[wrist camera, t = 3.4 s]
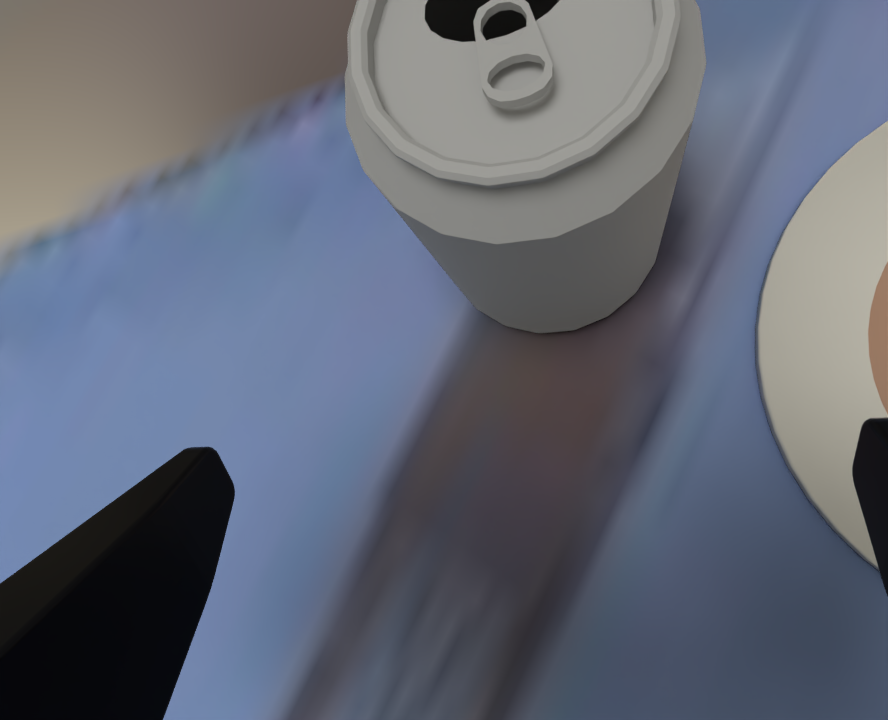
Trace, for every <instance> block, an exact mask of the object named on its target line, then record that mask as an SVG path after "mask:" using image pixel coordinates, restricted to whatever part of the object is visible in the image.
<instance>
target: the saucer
mask: <svg viewBox="0 0 888 720" xmlns="http://www.w3.org/2000/svg"><path fill="white" fill-rule="evenodd" d="M755 364H756V370H757V376H758V383H759V389H760V395H761V400H762V403H763V406H764V410H765V413H766V416H767V419H768V423H769V426H770V429H771V432H772V435H773V437H774V439H775V441H776V443H777V445H778V448H779V450H780V452H781V454H782V456H783V458H784V461H785V463H786V465H787V467H788V468H789V470H790V472H791V473H792V475H793V476H794V478H795V480H796V481H797V483H798V484H799V486H800V488H801V489H802V491H803V492H804V494H805V496H806V497H807V499H808V500H809V501H810V502H811V504H812V505H813V506H814V507H815V508H816V510H817V511H818V512H819V513H820V515H821V516H822V517H823V518H824V519H825V521H826V522H827V523H828V524H829V526H830V527H831V528H832V529H833V530H834V531H835V532H836V533H837V534H838V535H839V536H840V537H841V538H842V539H843V540H844V541H845V542H846V543H847V544H848V545H849V546H850V547H851V548H852V549H853V550H854V551H855V552H857V553H858V554H859V555H860V556H861V557H862V558H863V559H864V560H865V561H867V562H868V563H869V564H871V565H872V566H873V567H875V568H876V569H877V570H879V568H878V564H877V561H876V558H875V554H874V551H873V547H872V544H871V541H870V537H869V534H868V530H867V527H866V524H865V520H864V517H863V513H862V510H861V507H860V503H859V500H858V496H857V493H856V490H855V486H854V482H853V476H852V466H853V461H854V457H855V452H856V448H857V443H858V439H859V435H860V430H861V427H862V424H863V423H864V421H866V420H867V419H870V418H884V417H888V121H887V122H885V123H884V124H883V125H881V126H880V127H879V128H877V129H876V130H874V131H873V132H872V133H870V134H869V135H867V136H866V137H865V138H863V139H862V140H860V141H859V142H858V143H856V144H855V145H854V146H853V147H852V148H851V149H850V150H849V151H848V152H847V153H846V154H844V155H843V156H842V157H841V158H840V159H839V160H838V161H837V162H836V163H835V164H834V165H833V166H832V167H830V168H829V170H828V171H827V172H826V173H825V174H824V176H823V177H822V178H821V179H820V180H819V182H818V183H817V184H816V185H815V186H814V188H813V189H812V190H811V191H810V193H809V194H808V195H807V196H806V197H805V199H804V200H803V201H802V203H801V204H800V205H799V207H798V209H797V210H796V212H795V213H794V215H793V217H792V218H791V220H790V221H789V223H788V225H787V226H786V228H785V229H784V231H783V233H782V234H781V237H780V239H779V241H778V243H777V246H776V248H775V250H774V252H773V255H772V257H771V259H770V262H769V264H768V267H767V270H766V274H765V278H764V281H763V285H762V288H761V292H760V296H759V302H758V310H757V318H756V325H755Z"/></svg>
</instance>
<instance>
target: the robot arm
mask: <svg viewBox="0 0 888 720" xmlns="http://www.w3.org/2000/svg"><path fill="white" fill-rule="evenodd" d="M852 476H853V482H854V486H855V490H856V493H857V496H858V500H859V503H860V507H861V510H862V513H863V517H864V520H865V524H866V527H867V530H868V534H869V537H870V541H871V544H872V547H873V551H874V554H875V558H876V561H877V564H878V568H879V571H880V575H881V578H882V581H883V584H884V587H885V590H886V593H887V596H888V417H884V418H870V419H867V420H866V421H864V423H863V424H862V427H861V430H860V435H859V439H858V443H857V448H856V452H855V457H854V461H853V466H852ZM234 496H235V490H234V485H233V482H232V480H231V478H230V476H229V474H228V472H227V470H226V468H225V466H224V464H223V462H222V460H221V458H220V456H219V455H218V453H217V451H216V450H214V449H213V448H211V447H191V448H187V449H184V450H183V451H181V452H180V453H179V454H177V455H176V456H174V457H173V458H172V459H170V460H169V461H168V462H166V463H165V464H164V465H162V466H161V467H159V468H158V469H157V470H155V471H154V472H153V473H151V474H150V475H148V476H147V477H146V478H144V479H143V480H142V481H140V482H139V483H138V484H136V485H135V486H133V487H132V488H131V489H129V490H128V491H127V492H125V493H124V494H122V495H121V496H120V497H118V498H117V499H116V500H114V501H113V502H111V503H110V504H109V505H107V506H106V507H105V508H103V509H102V510H101V511H99V512H98V513H96V514H95V515H94V516H92V517H91V518H90V519H88V520H87V521H85V522H84V523H83V524H81V525H80V526H79V527H77V528H76V529H74V530H73V531H72V532H70V533H69V534H68V535H66V536H65V537H64V538H62V539H61V540H59V541H58V542H57V543H55V544H54V545H53V546H51V547H50V548H48V549H47V550H46V551H44V552H43V553H42V554H40V555H39V556H38V557H36V558H35V559H33V560H32V561H31V562H29V563H28V564H27V565H25V566H24V567H22V568H21V569H20V570H18V571H17V572H16V573H14V574H13V575H11V576H10V577H9V578H7V579H6V580H5V581H3V582H2V583H1V584H0V720H163V718H164V715H165V713H166V710H167V707H168V704H169V702H170V699H171V696H172V694H173V691H174V688H175V685H176V683H177V680H178V677H179V675H180V672H181V669H182V666H183V664H184V661H185V658H186V656H187V653H188V650H189V647H190V645H191V642H192V639H193V637H194V634H195V631H196V629H197V626H198V623H199V620H200V618H201V615H202V612H203V610H204V607H205V604H206V601H207V598H208V595H209V592H210V589H211V586H212V583H213V579H214V576H215V572H216V568H217V564H218V561H219V557H220V553H221V549H222V545H223V541H224V537H225V533H226V529H227V525H228V521H229V517H230V514H231V510H232V506H233V502H234Z"/></svg>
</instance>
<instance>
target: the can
mask: <svg viewBox="0 0 888 720" xmlns="http://www.w3.org/2000/svg"><path fill="white" fill-rule="evenodd" d="M705 67H706V56H705V48H704V40H703V32H702V23H701V15H700V9H699V7H698V5H697V3H696V1H695V0H357V3H356V6H355V10H354V13H353V16H352V20H351V23H350V27H349V30H348V66H347V69H346V73H345V103H346V126H347V128H348V131H349V134H350V136H351V139H352V142H353V144H354V147H355V150H356V152H357V155H358V158H359V160H360V163H361V166H362V168H363V171H364V172H365V173H366V174H367V176H368V177H369V178H370V179H371V180H372V182H373V183H374V184H375V185H376V187H377V188H378V189H379V190H380V192H381V193H382V194H383V195H384V197H385V198H386V199H387V200H388V201H389V203H390V204H391V205H392V206H393V208H394V209H395V210H396V211H397V213H398V214H399V215H400V216H401V218H402V219H403V220H404V221H405V223H406V224H407V225H408V226H409V227H410V229H411V230H412V231H413V232H414V234H415V235H416V236H417V237H418V239H419V240H420V241H421V242H422V244H423V245H424V246H425V247H426V248H427V250H428V251H429V252H430V253H431V255H432V256H433V257H434V258H435V260H436V261H437V262H438V263H439V265H440V266H441V267H442V268H443V270H444V271H445V272H446V273H447V274H448V276H449V277H450V278H451V279H452V281H453V282H454V283H455V284H456V286H457V287H458V288H459V289H460V290H461V291H462V293H463V294H464V295H465V296H466V297H467V298H468V300H469V301H470V302H471V303H472V304H473V305H474V307H475V308H476V309H477V310H479V311H481V312H482V313H484V314H486V315H487V316H489V317H491V318H493V319H494V320H496V321H498V322H499V323H501V324H503V325H504V326H507V327H512V328H516V329H521V330H526V331H530V332H535V333H550V332H561V331H571V330H576V329H579V328H581V327H583V326H586V325H588V324H591V323H593V322H596V321H598V320H600V319H603V318H605V317H608V316H609V315H610V314H611V313H613V312H614V311H615V310H616V309H617V308H619V307H620V306H621V305H622V304H623V303H625V302H626V301H627V300H628V299H629V298H631V297H632V296H633V295H634V294H635V293H636V292H637V291H638V289H639V287H640V286H641V284H642V283H643V281H644V279H645V278H646V276H647V275H648V273H649V271H650V270H651V268H652V267H653V265H654V264H655V261H656V257H657V253H658V250H659V246H660V242H661V238H662V235H663V231H664V227H665V223H666V220H667V216H668V212H669V208H670V205H671V201H672V197H673V193H674V189H675V186H676V182H677V178H678V174H679V171H680V167H681V163H682V159H683V156H684V152H685V148H686V144H687V141H688V137H689V133H690V129H691V125H692V122H693V118H694V114H695V109H696V105H697V101H698V97H699V93H700V88H701V84H702V80H703V76H704V72H705Z"/></svg>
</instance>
